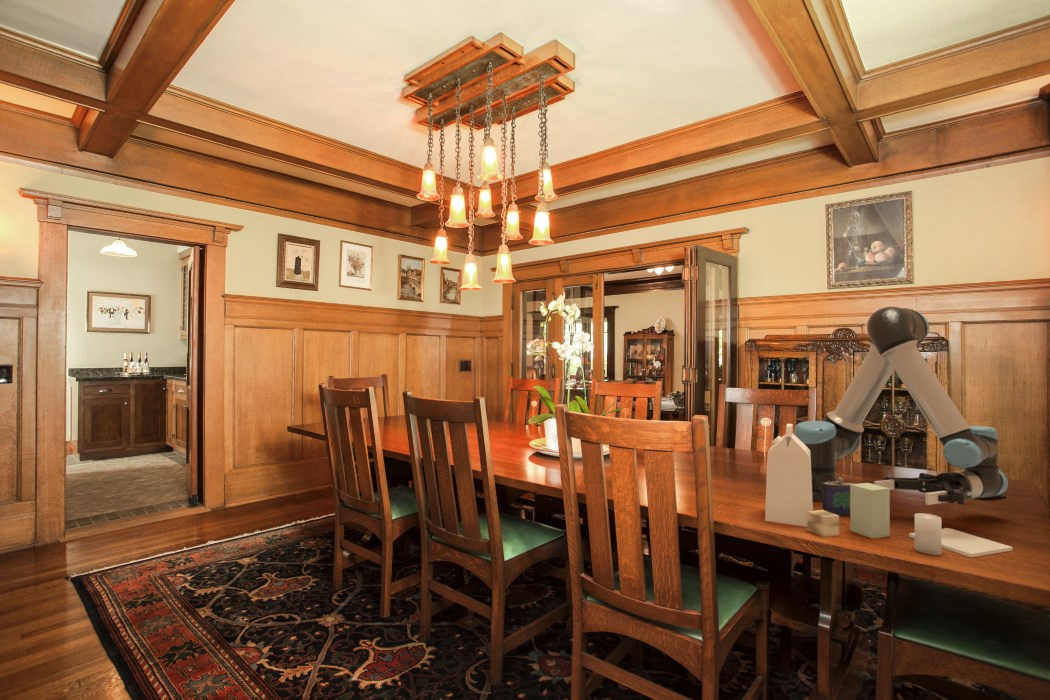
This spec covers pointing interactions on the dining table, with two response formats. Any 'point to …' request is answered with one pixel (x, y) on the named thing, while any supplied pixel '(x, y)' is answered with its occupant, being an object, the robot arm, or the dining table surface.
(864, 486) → the sage block
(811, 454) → the robot arm
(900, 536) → the dining table surface
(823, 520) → the maple cube
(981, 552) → the white tile
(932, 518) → the white cylinder
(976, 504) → the dining table surface
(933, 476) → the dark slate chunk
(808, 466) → the milk
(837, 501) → the flask
